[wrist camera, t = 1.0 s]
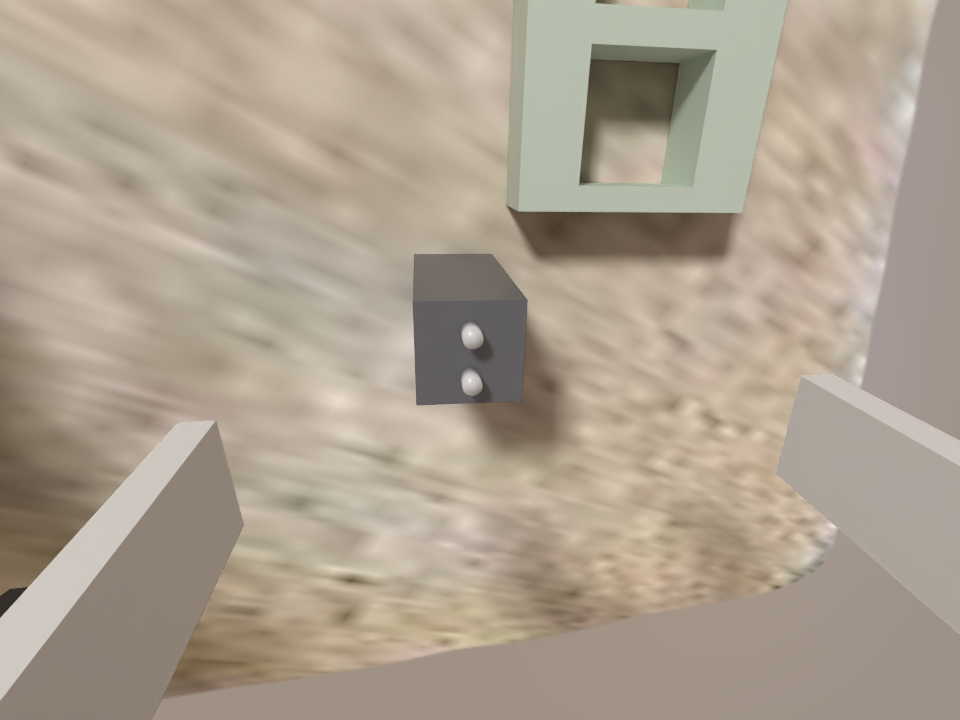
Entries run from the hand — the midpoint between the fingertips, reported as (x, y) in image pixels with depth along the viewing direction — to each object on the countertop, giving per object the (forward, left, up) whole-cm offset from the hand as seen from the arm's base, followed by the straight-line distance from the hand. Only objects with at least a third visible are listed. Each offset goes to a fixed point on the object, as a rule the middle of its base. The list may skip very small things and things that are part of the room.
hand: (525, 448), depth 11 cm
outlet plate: (+9, +12, -19) cm, 24 cm away
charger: (0, -1, -19) cm, 19 cm away
